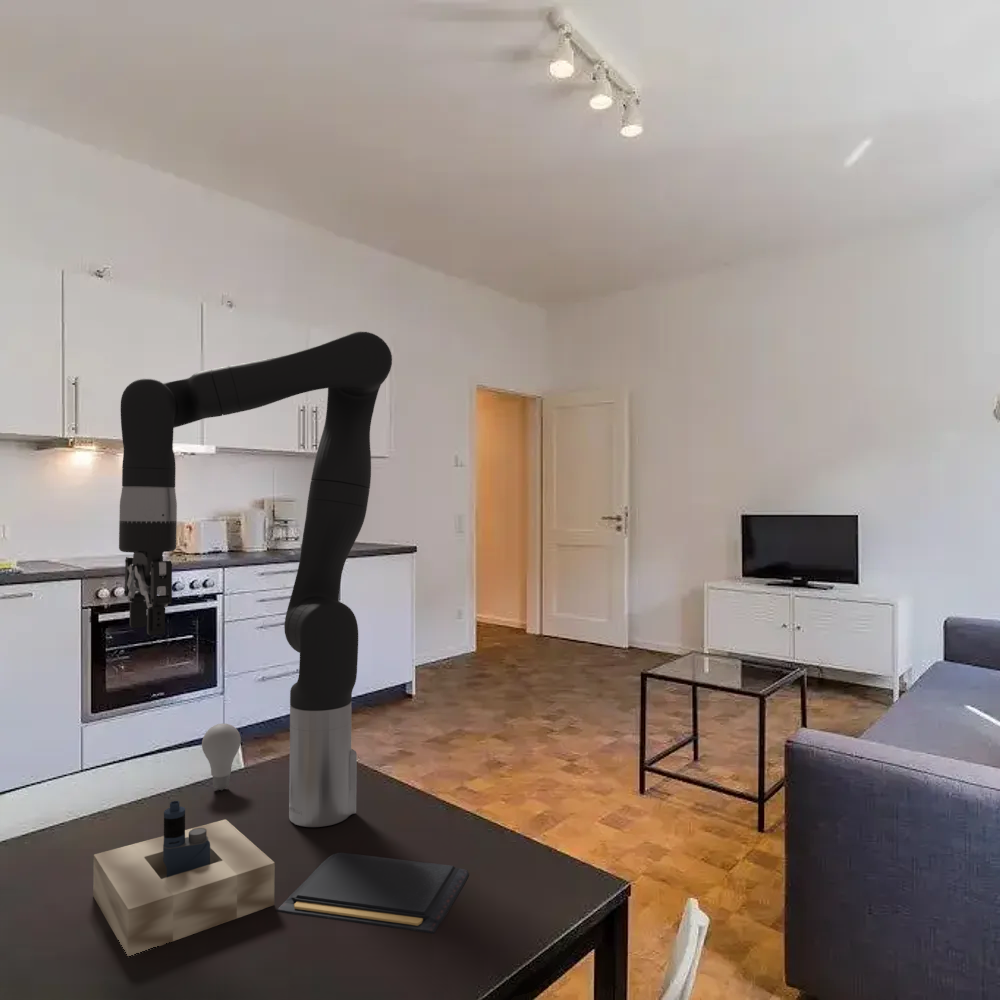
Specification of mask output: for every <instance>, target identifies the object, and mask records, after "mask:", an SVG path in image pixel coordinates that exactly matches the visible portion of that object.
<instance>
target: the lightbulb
mask: <svg viewBox="0 0 1000 1000" xmlns="http://www.w3.org/2000/svg"><path fill="white" fill-rule="evenodd" d="M241 743H242V738H241V734H240V732H239V731H238V729H237V728H236V727H235V726H234V725H231V724H229V723H218V724H214V725H212V726H211V727H210V728H209V729H208V730H207V731H206V732H205V733H204V735H203V738H202V741H201V748H202V751H203V754H204V756H205V757H206V759H207V761H208V763H209V767H210V773H211V774H210V775H211V776H212V787H213V788H214V789H216V790H217V791H219V790H221V791H223V789H224V790H225V789H226V788H228V787H229V785H230V774H232V767H233V762H234V759H235V757H236V756H237V753H238V752H239V750H240V747H241Z"/></svg>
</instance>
